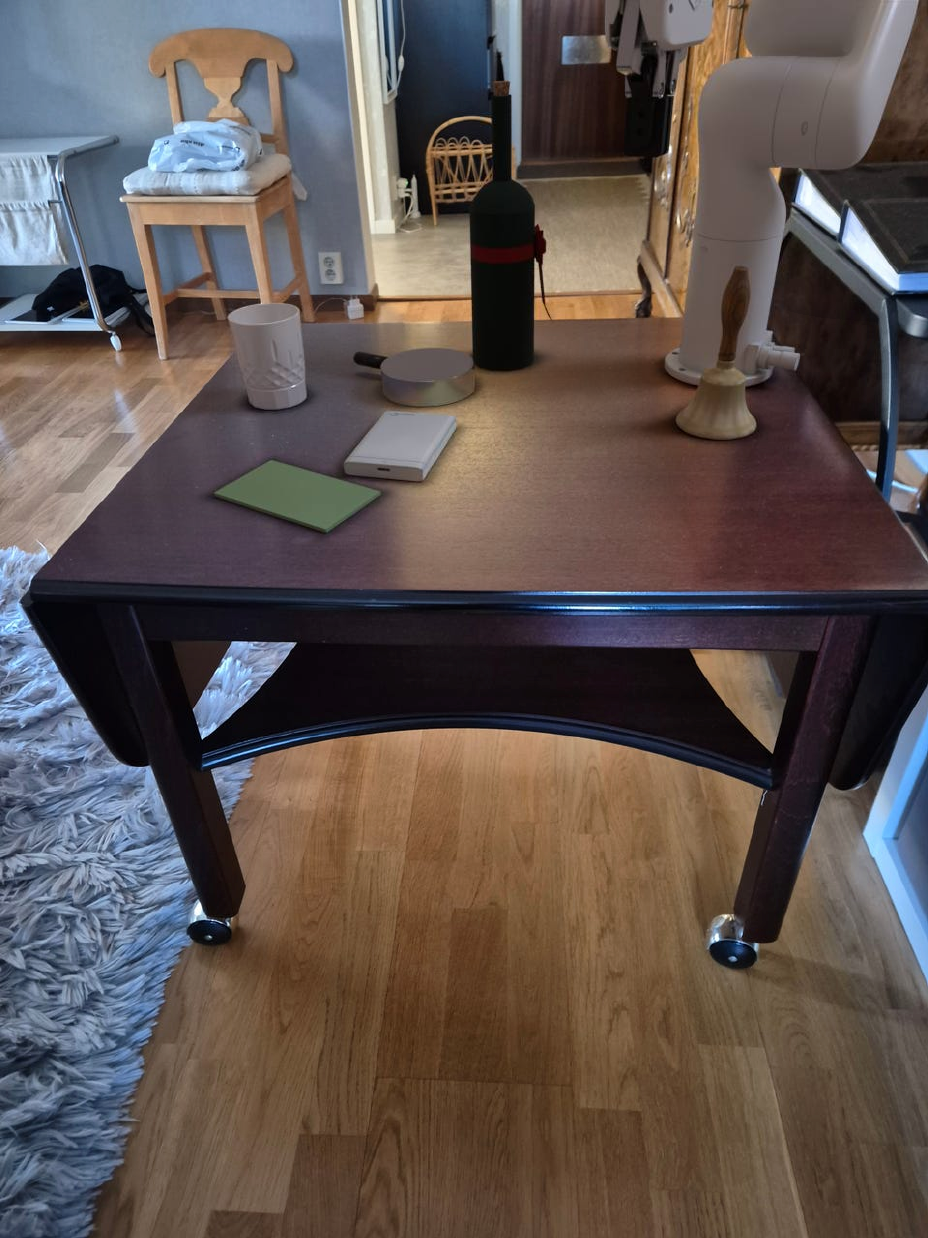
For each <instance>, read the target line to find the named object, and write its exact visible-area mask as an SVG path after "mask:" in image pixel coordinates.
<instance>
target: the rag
mask: <svg viewBox="0 0 928 1238" xmlns="http://www.w3.org/2000/svg"><path fill="white" fill-rule="evenodd" d="M381 495H382V493H381V491H380V490H378V489H374V488H370V487H368V486H367V487H366V486H363V485H360V484H356V483H353V482H350V481H345V480H342V479H339V478H336V477H332V476H328V475H325V474H322V473H318V472H316V471H312V470H307V469H305V468H302V467H301V468H300V467H297V466H294V465H291V464H287V463H284V462H280V461H277V460H273V459H270V460H268V461H266V462H265V463H263V464H261V465H259V466H258V467H256V468H254V469H252V470H250V471H249V472H247V473H245V474H244V475H242V476H240V477H238V478H237V479H235V480H233V481H231V482H230V483H228V484H227V485H225V486H223V487H221V488H219V489H218V490H216V491H214V492H213V496H214V497H215V498H219V499H222V500H224V501H228V502H231V503H234V504H236V505H240V506H243V507H246V508H249V509H251V510H254V511H258V512H260V513H265V514H267V515H269V516H273V517H276V518H278V519H279V518H280V519H282V520H285V521H288V522H291V523H294V524H298V525H300V526H303V527H307V528H310V529H312V530H315V531H319V532H322V533H325V534H328V533H329V532H330V531H332V530H333V529H335V528H336V527H338V526H339V525H340V524H342V523H343V522H345V521H346V520H348V519H349V518H350V517H352V516H353V515H355V514H356V513H357V512H359V511H360V510H362V509H363V508H365V507H366V506H367V505H369V504H370V503H372V502H373V501H374V500H376V499H378V497H380V496H381Z"/></svg>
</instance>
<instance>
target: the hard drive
mask: <svg viewBox="0 0 928 1238" xmlns="http://www.w3.org/2000/svg"><path fill="white" fill-rule="evenodd" d="M457 427H458V421H457V417H456V416H455V415H452V414H441V413H426V412H411V411H397V410H396V411H395V410H386V411H384V412H383V414H382V415H381V416H380V417H379V419H378V420H377V421H376V422H375V423H374V425H372V427H371V428H370V429H369V431H368V432H367V433H366V434H365V436H364V437H363V438H362V439H361V440H360V442H359V443H358V444H357V445H356V447H355V448H354V449H353V451H352V452H351V453H350V454H349V456H348V457H347V458H346V459H345V461H344V462H343V469H344V473H345V474H346V475H348V476H357V477H368V478H379V479H390V480H398V481H399V480H401V481H409V482H423V481H424V480H425V478H426V477H427V475H428V474H429V472H430V471H431V469H432V467H433V465H435V462H436V461H437V459H438V457H439V456H440V454H441V453H442V451H443V450H444V448H445V447H446V445H447V443H448V441H449V440H450V439H451V437H452V435H453V434H454V432H455V431H456V429H457Z"/></svg>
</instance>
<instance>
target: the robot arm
mask: <svg viewBox="0 0 928 1238" xmlns="http://www.w3.org/2000/svg"><path fill="white" fill-rule="evenodd" d="M919 1H920V0H750V1H749V5H748V9H747V13H746V17H745V21H744V26H743V27H744V28H743V39H744V43H745V46H746V50H747V51H748V53H749V54H750V56H743V57H739V58H734V59H732V60H730V61H727V62H725V63H723V64H721V65H720V66H719V67H717V68H715V69H714V71H713V72H712V73H711V74H710V75H709V77H707V79H706V81H705V83H704V85H703V87H702V89H701V93H700V96H699V101H698V107H697V143H698V144H697V145H698V179H697V180H698V182H697V195H696V205H695V214H694V224H693V233H692V242H691V249H690V250H691V251H690V258H689V266H688V267H689V268H688V276H687V285H686V293H685V302H684V310H683V319H682V328H681V335H680V344H679V347H677V348H675V349H672V350H670V351H669V352H668V353H667V354H666V356H665V358H664V370H665V371H666V372H667V374H669V376H671V377H673V378H675V380H677V381H680V382H683V383H686V384H689V385H694V386H698V385H699V382H700V378H701V375H702V373H703V372H704V371H705V370H707V369H709V368H713V367H715V366H716V365H717V360H718V354H719V352H720V351H719V350H720V345H721V340H722V334H723V327H722V320H721V307H722V299H723V294H724V291H725V288H726V286H727V284H728V282H729V280H730V278H731V276H732V273H733V271H734V268H735V267H736V266H746V267H748V276H749V282H750V291H751V295H750V303H749V308H748V312H747V315H746V318H745V320H744V322H743V324H742V327H741V329H740V331H739V335H738V341H737V349H736V358H735V359H734V360H735V363H734V368H735V369H737V370H739V371H740V372H742V373H743V374H744V376H745V378H746V381H745V388H747V387H751V386H754V385H758V384H761V383H763V382H765V381H766V380H768V379H769V378H771V376H772V375H773V370H774V367H775V368H778V369H779V370H780V369H781V370H787V371H793V372H795V371H797V368H798V366H799V364H800V363H799V362H800V359H801V354H800V353H798V352H795V350H796V347H791V346H786V345H776V343H775V342H774V341H773V342H772V338H773V333H774V332H773V331H772V330H768V329H767V327H768V322H769V316H770V311H771V304H772V299H773V294H774V287H775V283H776V276H777V271H778V265H779V260H780V254H781V253H780V252H781V250H782V249H781V248H782V244H783V243H782V242H783V238H784V237H783V236H784V232H785V225H786V221H787V220H786V219H787V207H786V202H785V198H784V195H783V192H782V190H781V188H780V185H779V183H778V181H777V179H776V178H775V175H774V174H773V171H772V169H779V168H785V169H786V168H787V169H788V168H789V169H803V170H804V169H805V170H823V171H838V170H844V169H848V168H851V167H853V166H855V165H856V164H858V163H859V162H860V161H861V160H862V159H863V158H864V156H865V155H866V154H867V152H868V150H869V148H870V146H871V145H872V142H873V141H874V138H875V136H876V133H877V131H878V128H879V125H880V122H881V119H882V117H883V114H884V111H885V108H886V106H887V102H888V100H889V98H890V97H889V96H890V94H891V90H892V87H893V85H894V82H895V79H896V76H897V74H898V71H899V67H900V65H901V62H902V59H903V56H904V53H905V50H906V47H907V44H908V42H909V39H910V35H911V32H912V29H913V25H914V22H915V18H916V15H917V11H918V5H919ZM714 10H715V0H605V3H604V36H605V41H606V43H607V44H608V45H609V47H610V48H611V49H612V50H613V51H616V52H617V55H616V62H615V63H616V64H615V68H616V71H617V72H618V73H620V74H622V75H624V79H625V80H624V95H625V98H626V104H625V119H624V120H625V121H624V133H623V134H624V135H623V149H622V150H623V151H622V152H623V154H624V156H626V157H637V158H652V159H653V158H655V159H656V158H660V157H661V156H665V155H666V154H668V153H669V151H670V143H671V141H670V140H671V130H672V120H673V111H674V110H673V109H674V98H675V96H674V95H675V93H676V91H677V85H678V78H679V72H680V65H681V64H682V63H683V62H684V61H685V60H686V58H687V56H688V48H690V47H695V46H698V45H699V46H700V45H702V44H703V43H704V42H705V41H706V40H707V39H708V38H709V36H710V35H711V32H712V28H713V21H714Z"/></svg>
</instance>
